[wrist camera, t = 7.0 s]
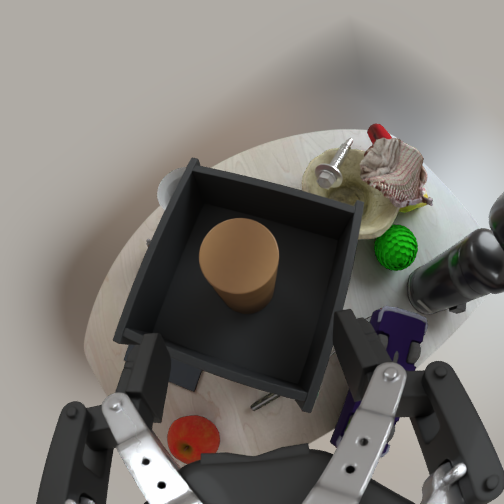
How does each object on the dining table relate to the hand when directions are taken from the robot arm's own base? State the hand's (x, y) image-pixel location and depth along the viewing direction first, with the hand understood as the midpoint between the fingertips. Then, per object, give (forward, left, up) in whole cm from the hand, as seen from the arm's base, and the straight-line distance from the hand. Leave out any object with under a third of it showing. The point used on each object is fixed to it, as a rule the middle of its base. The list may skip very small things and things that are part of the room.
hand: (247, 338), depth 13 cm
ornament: (-19, -19, -29) cm, 40 cm away
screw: (-6, -32, -25) cm, 41 cm away
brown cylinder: (+2, -4, -9) cm, 10 cm away
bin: (+2, -4, -35) cm, 36 cm away
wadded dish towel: (-19, -39, -24) cm, 50 cm away
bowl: (-8, -29, -35) cm, 47 cm away
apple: (+5, +18, -36) cm, 40 cm away
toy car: (-20, +1, -25) cm, 32 cm away
